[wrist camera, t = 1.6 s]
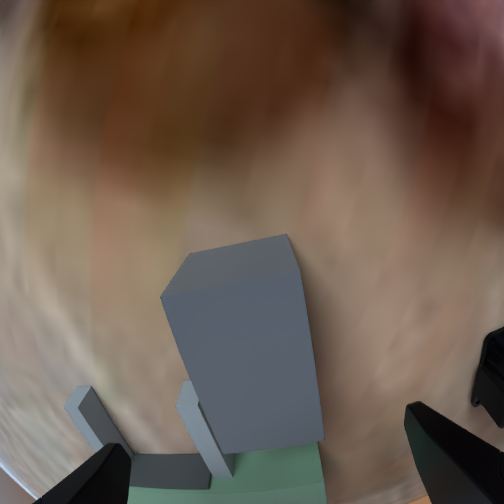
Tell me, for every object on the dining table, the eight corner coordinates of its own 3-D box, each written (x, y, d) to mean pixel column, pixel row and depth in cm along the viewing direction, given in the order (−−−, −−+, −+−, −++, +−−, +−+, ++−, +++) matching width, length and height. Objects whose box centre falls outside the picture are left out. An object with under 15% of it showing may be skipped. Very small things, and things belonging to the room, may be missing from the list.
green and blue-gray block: (304, 362, 16) (313, 406, 13) (322, 477, 20) (328, 513, 16) (71, 386, 17) (48, 419, 14) (142, 487, 21) (133, 518, 17)
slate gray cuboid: (286, 233, 15) (300, 270, 10) (310, 373, 17) (324, 440, 12) (189, 252, 15) (160, 297, 10) (230, 386, 17) (223, 453, 12)
